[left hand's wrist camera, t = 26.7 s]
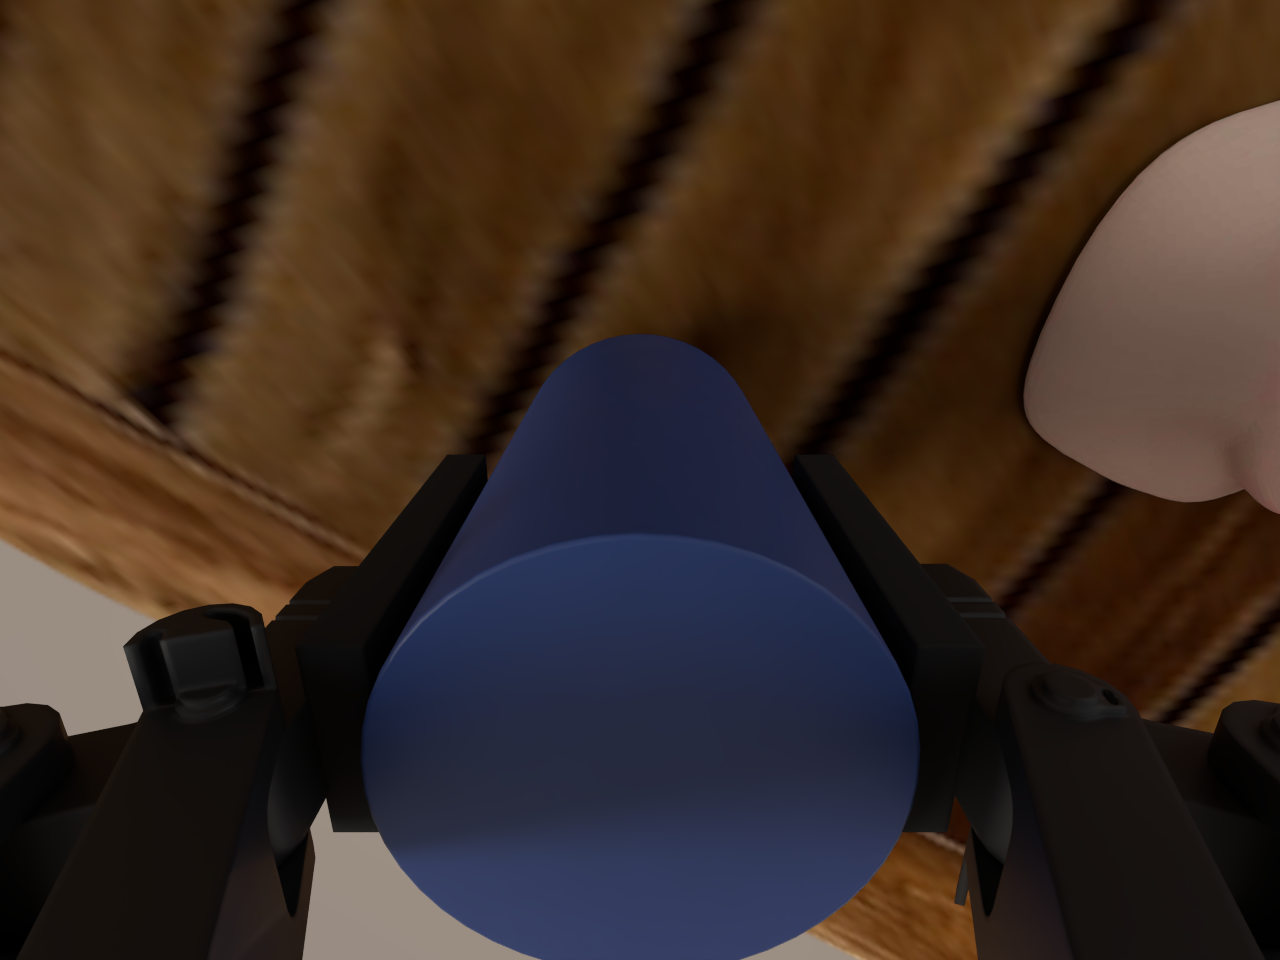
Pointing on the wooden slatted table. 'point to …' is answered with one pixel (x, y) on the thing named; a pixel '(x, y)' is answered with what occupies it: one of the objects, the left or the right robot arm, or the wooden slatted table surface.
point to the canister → (640, 686)
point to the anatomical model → (1175, 325)
